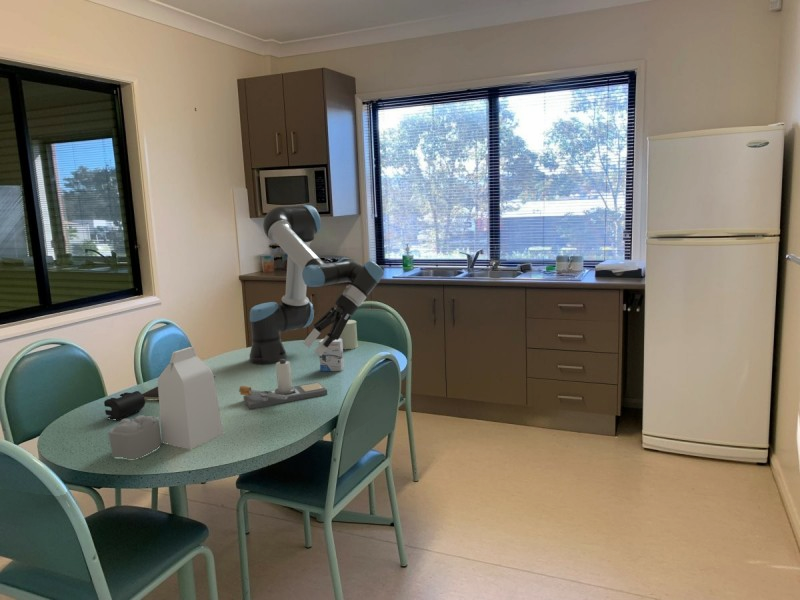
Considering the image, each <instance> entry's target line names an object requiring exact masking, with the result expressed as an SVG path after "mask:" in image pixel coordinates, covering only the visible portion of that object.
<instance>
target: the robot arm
mask: <svg viewBox="0 0 800 600" xmlns="http://www.w3.org/2000/svg"><path fill="white" fill-rule="evenodd" d="M262 225H263V226H262V227H263V232H264V234H265V236H266V237H267V238H268V239H269V240H270V241H271V242H272V243H275V244H277V245H278V246H279V247H280V248H281V249H282V251H284V252H285V254H286V255H287V261H286V262H287V263H286V277H285V278H286V279H285V282H286V283H285V295H284V294H283V296H282V297H281V300H280V301H281V304H278V303H277V302H276V301H269V302H264V303H263V302H262V303H260V304H257V305H254V306H253V307H251V309H250V310H249V322H250V331H251V340H252V342H251V343H252V344H251V347H250V351H249V355H248V356H249V362H250V363H251V364H256V365H269V364H276V363H277V362H280V359H287V351H286V349H285V347H284V344H283V342H282V339H281V338H282V337H281V333H284V332H289V331H295V330H300V329H304V328H307V327H309V326H310V325H311V324H312V323H313V320H314V317H315V310H314V306H313V303H312V302H311V301H310V299H309V297H307V289H308V288H307V287H310V288H313V287H314V288H315V287H316V288H319V287H323V286H329V285H335V284H341V283H342V284H343V283H348V282H349V284H348V285H345V289H344V290H343V292H342V294H340V295H339V296H338V298H337V299H336V300H335V305H336V307H334V306H331V308H329V310H328V311H327V312H326V313H325V314H324V315H322V316H321V317H320V318H319V319H318V320H317V321H316V322H315V323H313V326H314V328H313V329H312V331H311V332H310V333H309V335H308V336H307V337H306V338H305V339H304V341H303V342H302V344H303V345H305V346H306V347H307V348H310V347H311V346H312V345H313V343H315V341H316V340H317V338H319V336H320V335H321V334H322V333H323V330H325V329H326V328H328V327H329V326H330V325H331V327H330V331H329V332H328V333H327V334H326V335H325V337H324V338H323V339H324V340H323V341H322V342H321V343H320V345H319V344H318V346H317V347H316V348H315V349H314V352H315V353H316V354H318V356H319V355H320V356H322V355H323V353H324V352H325V351H326V349H327V348H328V347H329V346H330V344H331V343H332V342H333V340H335V339H336V340H338V339H339V337H340V335H341V333H342V331H343V329H344V327H345V326H346V324H347V322H348V320H351V319H350V318H351V316H354V314H355V313H356V312H357V310H358V308H359V307H361V306H362V304H363V302H365V300H366V299H367V298H368V296H369V295H370V294H371V292H372V291H373V290H374V288H375V287H376V286H377V285H378V284H379V283H380V282H381V279H382V278H383V277H384V275H385V272H384V269H382V267H381V266H379V265H378V264H377V263H376V262H374V261H373V260H368V261H366V263H364V264H362V263H360V262H358V261H357V260H354V259H352V258H350V257H349V258H348V257H342V258H340V259H338V260H337V261H334V262H327V263H325V262H324V261H323V260H322V259H321V258H320V257H319V256H318V255H317V254H316V253H315V252H314V251H313V250H312V249H311V248H310V247H311V243H312V242H314V240H315V235H316V234H318V233H320V231H321V229H322V228H321V227H322V219H321V217H320V214H319V212H318V210H317V209H316V208H315V206H313V205H310V204H309V205H308V204H307V205H306V204H300V205H296V204H295V205H287V206H286V205H285V206H284V205H282V206H275V207H273V208H272V209H270V210H269V211H268V212H267V213H266V215H265V217H264V218H263V223H262ZM320 356H319V357H320Z"/></svg>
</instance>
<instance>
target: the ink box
mask: <svg viewBox="0 0 800 600" xmlns="http://www.w3.org/2000/svg"><path fill="white" fill-rule="evenodd" d="M323 340H324V338H322V339H320V340H319V341H318V346H319V345H320V343H321V342H322V341H323ZM318 356H319V368H320V371H319V372H342V371H343V370H344V369H345V363H344V362H345V361H344V350H343V343H342V339H338V340H336V339H335V340H333V342H332V343H331V344H330V346H329V347H328V348H327V349H326V351H325V352H324V353H323V355H322V356H320V355H319V354H318Z"/></svg>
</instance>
